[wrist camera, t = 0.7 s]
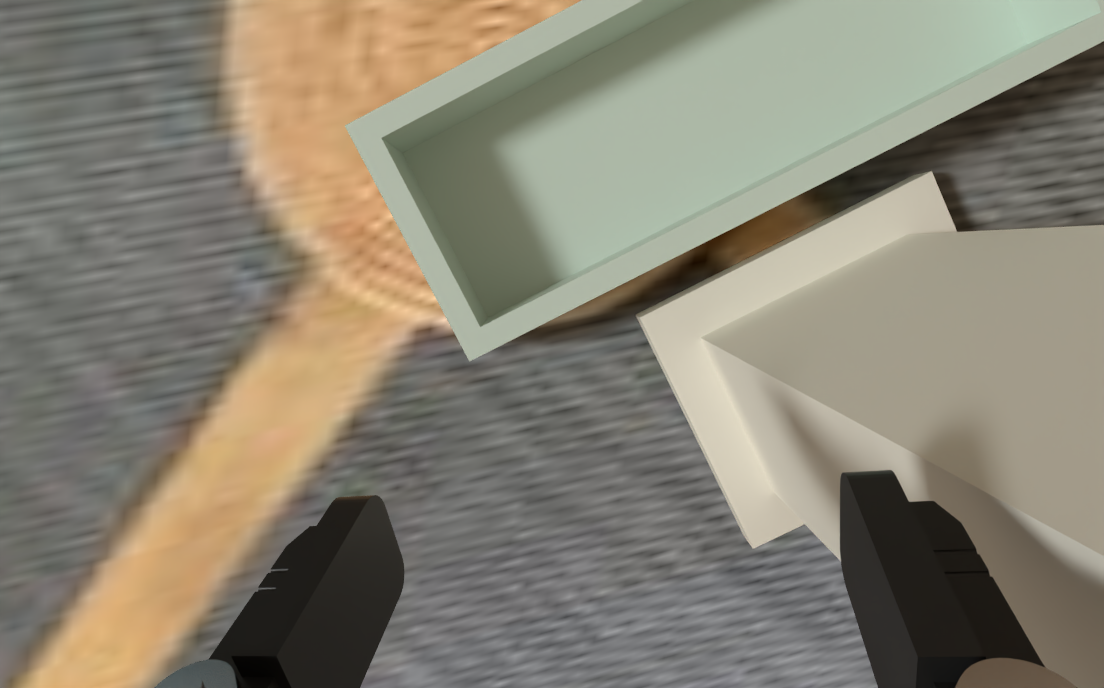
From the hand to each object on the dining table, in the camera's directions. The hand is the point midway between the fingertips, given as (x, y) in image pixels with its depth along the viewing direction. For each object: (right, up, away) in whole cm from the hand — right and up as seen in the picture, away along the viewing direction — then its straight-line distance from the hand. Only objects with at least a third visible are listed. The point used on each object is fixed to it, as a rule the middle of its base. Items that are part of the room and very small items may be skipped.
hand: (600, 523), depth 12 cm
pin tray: (+6, +14, +19) cm, 24 cm away
